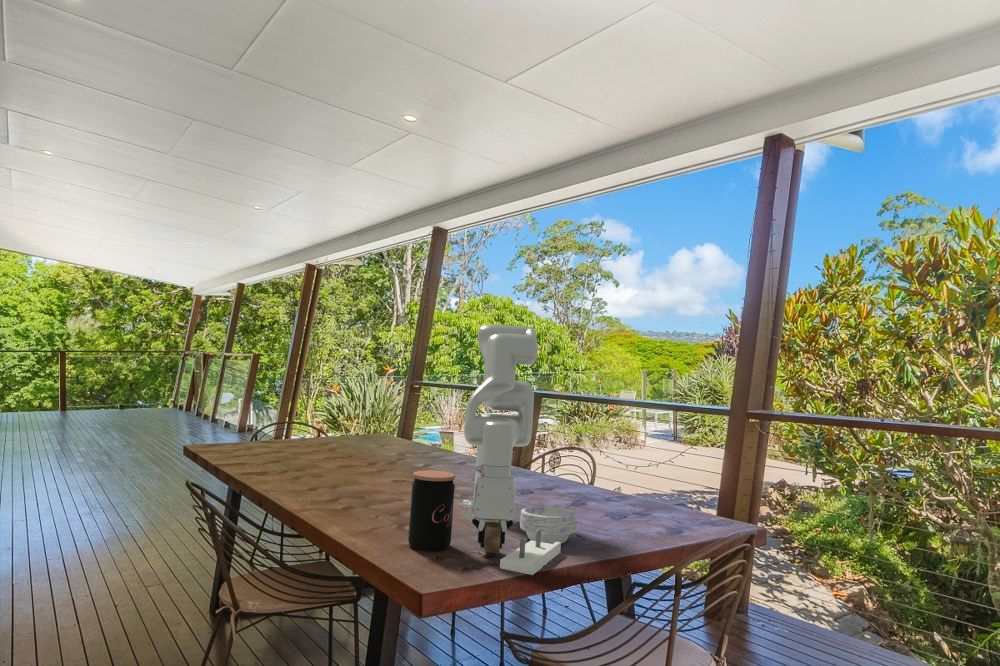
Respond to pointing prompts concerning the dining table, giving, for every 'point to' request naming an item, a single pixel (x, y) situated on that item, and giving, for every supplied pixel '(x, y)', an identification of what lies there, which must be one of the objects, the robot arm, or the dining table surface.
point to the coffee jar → (431, 510)
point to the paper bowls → (548, 523)
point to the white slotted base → (530, 556)
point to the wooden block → (492, 536)
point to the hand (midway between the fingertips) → (490, 545)
